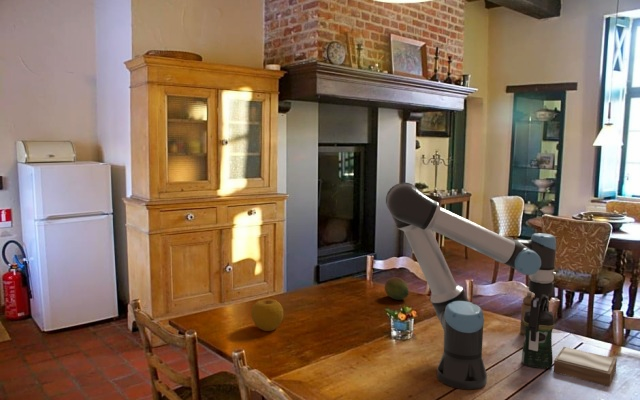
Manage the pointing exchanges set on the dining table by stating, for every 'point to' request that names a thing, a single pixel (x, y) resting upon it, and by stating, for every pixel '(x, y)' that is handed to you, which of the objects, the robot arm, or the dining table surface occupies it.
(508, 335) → the dining table surface
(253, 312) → the apple
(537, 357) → the coffee jar
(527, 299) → the pepper mill
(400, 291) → the fruit
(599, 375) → the plinth
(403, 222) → the robot arm
